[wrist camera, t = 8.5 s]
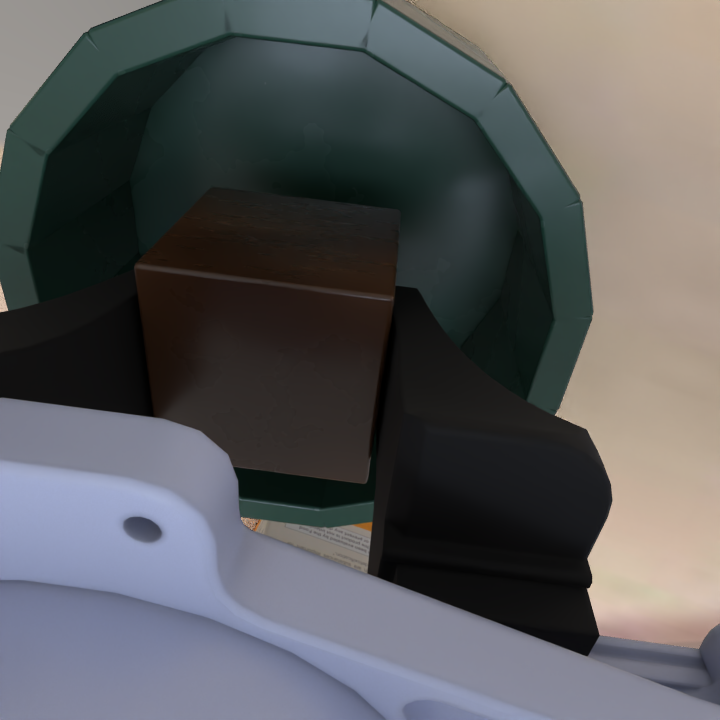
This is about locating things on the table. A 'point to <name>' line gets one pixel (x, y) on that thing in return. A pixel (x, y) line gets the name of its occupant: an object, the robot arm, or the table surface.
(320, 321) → the block
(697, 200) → the table surface
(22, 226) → the tin
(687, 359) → the table surface
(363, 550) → the supplement box
